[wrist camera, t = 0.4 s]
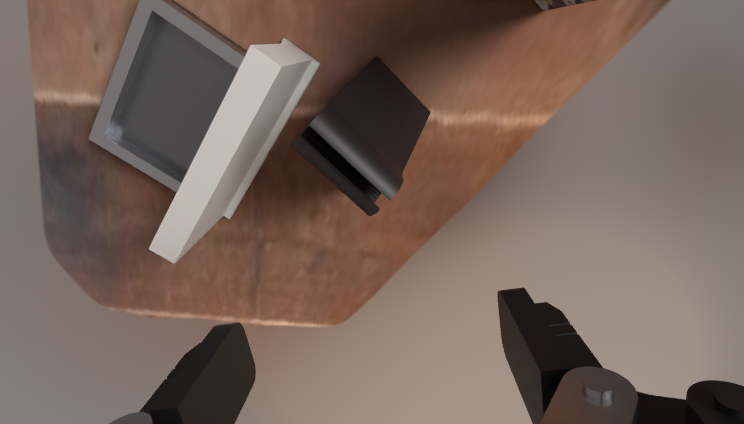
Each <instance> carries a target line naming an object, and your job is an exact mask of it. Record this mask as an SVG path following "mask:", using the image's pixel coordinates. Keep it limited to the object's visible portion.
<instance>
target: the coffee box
mask: <svg viewBox="0 0 744 424" xmlns="http://www.w3.org/2000/svg"><path fill="white" fill-rule="evenodd" d="M535 1H536V3H537V4H538V5H539V6H540V8H541V9H543V10H550V9H555V8H560V7H565V6H571V5H576V4H580V3H584V2H590V1H594V0H535Z"/></svg>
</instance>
